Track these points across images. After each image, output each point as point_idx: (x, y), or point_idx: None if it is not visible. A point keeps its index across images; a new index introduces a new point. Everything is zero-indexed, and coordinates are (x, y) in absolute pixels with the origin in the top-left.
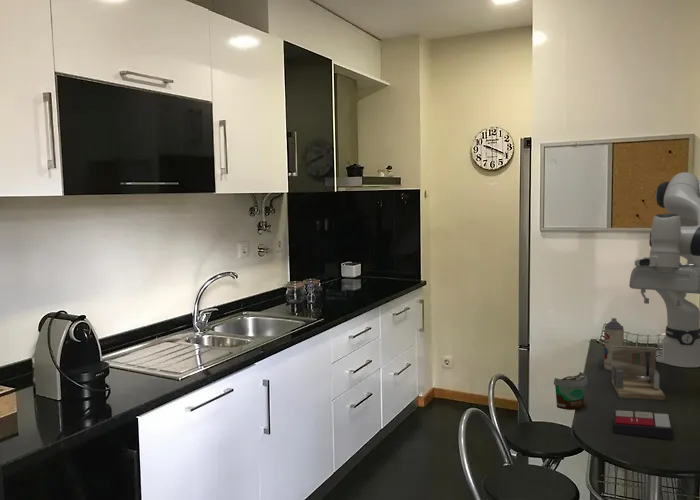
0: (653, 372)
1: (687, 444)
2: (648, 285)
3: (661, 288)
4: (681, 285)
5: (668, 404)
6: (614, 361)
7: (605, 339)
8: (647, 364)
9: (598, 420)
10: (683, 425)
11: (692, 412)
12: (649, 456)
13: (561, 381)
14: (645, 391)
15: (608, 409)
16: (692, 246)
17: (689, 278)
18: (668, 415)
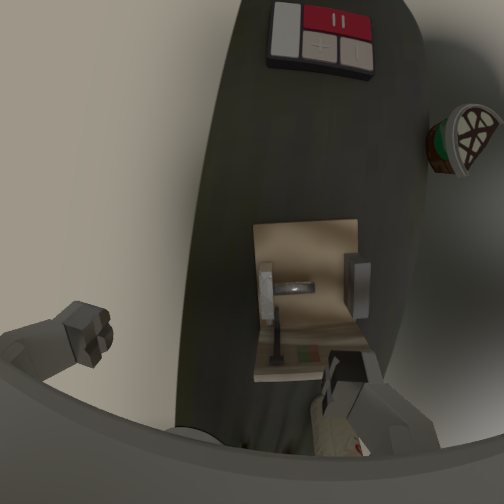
0: (271, 287)
1: (250, 4)
2: (385, 501)
3: (173, 452)
4: None
5: (250, 193)
6: (361, 343)
7: (360, 446)
8: (278, 342)
9: (396, 73)
10: (240, 75)
11: (208, 153)
12: None
13: (490, 111)
14: (294, 245)
15: (380, 133)
16: None
17: None
18: (270, 54)
